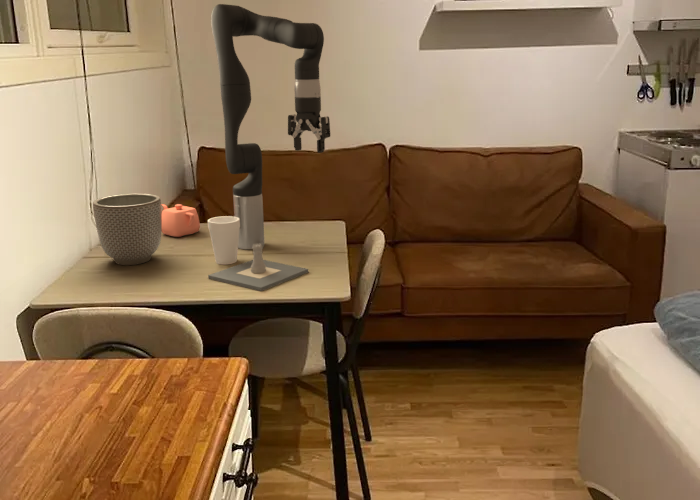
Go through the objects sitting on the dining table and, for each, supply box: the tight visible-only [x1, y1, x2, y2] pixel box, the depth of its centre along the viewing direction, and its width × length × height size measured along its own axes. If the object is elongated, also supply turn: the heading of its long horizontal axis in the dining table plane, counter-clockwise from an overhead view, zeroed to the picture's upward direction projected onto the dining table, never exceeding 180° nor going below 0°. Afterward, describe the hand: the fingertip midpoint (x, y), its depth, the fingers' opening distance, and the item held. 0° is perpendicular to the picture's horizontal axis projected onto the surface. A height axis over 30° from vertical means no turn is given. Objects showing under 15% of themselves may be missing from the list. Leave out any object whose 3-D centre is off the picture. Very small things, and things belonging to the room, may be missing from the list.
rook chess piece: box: [251, 243, 266, 274], centre depth 206 cm, size 4×4×8 cm
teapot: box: [161, 203, 201, 238], centre depth 255 cm, size 12×18×10 cm, turn 50°
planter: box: [92, 193, 162, 266], centre depth 222 cm, size 20×20×19 cm
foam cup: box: [207, 215, 240, 265], centre depth 220 cm, size 10×9×13 cm
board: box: [207, 259, 309, 292], centre depth 207 cm, size 20×20×1 cm
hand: (309, 151), depth 215 cm, fingers open, 8 cm apart
